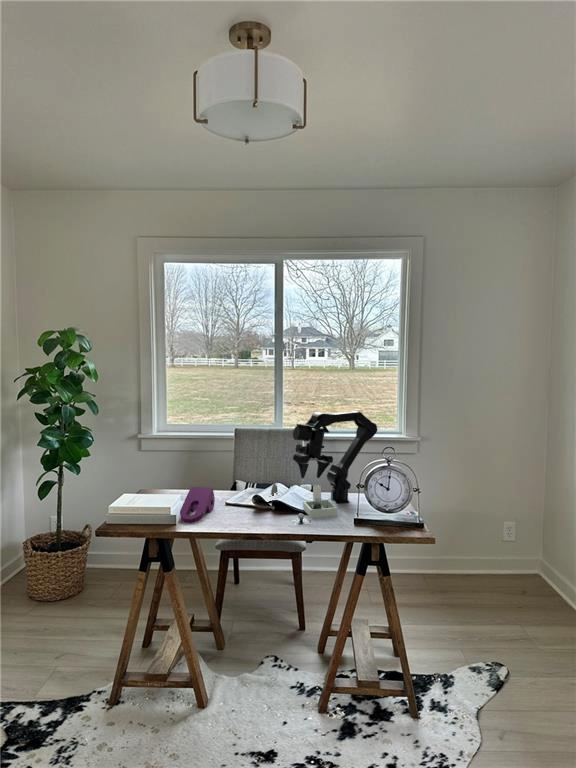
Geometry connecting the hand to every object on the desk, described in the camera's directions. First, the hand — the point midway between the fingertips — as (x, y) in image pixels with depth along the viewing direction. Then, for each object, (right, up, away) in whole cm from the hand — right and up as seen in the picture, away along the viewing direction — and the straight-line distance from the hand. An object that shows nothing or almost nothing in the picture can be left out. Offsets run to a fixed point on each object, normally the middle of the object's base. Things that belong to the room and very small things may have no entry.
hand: (310, 478), depth 208 cm
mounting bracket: (-46, -14, -9) cm, 49 cm away
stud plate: (-4, -14, -21) cm, 26 cm away
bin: (+3, -13, -11) cm, 17 cm away
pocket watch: (-18, -12, +7) cm, 22 cm away
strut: (+2, -12, -12) cm, 18 cm away
